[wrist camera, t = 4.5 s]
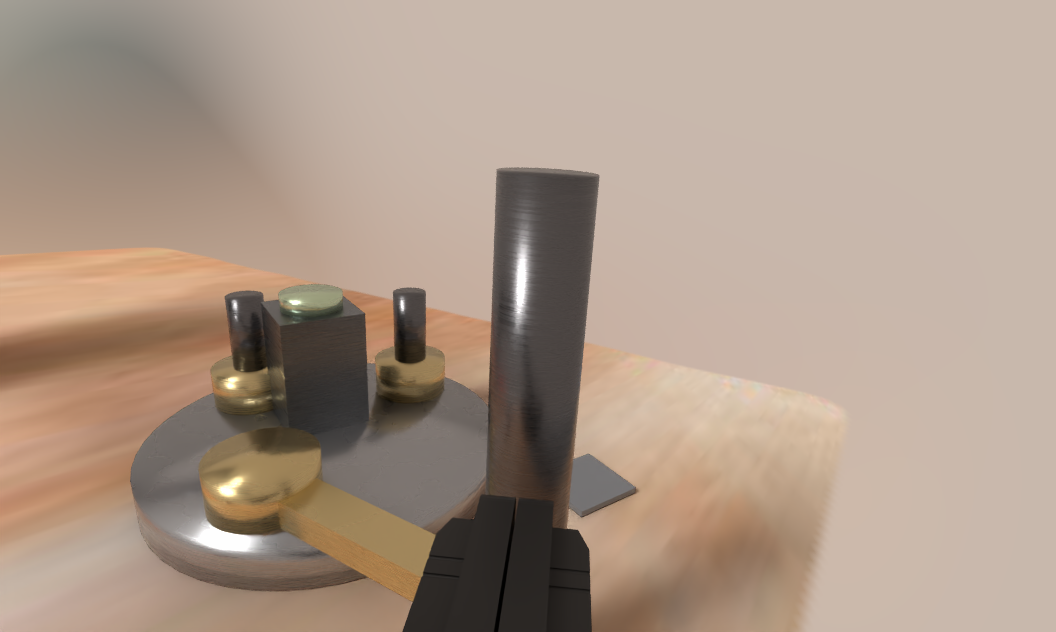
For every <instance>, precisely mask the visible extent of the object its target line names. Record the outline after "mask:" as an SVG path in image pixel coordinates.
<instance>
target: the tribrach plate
mask: <svg viewBox="0 0 1056 632" xmlns="http://www.w3.org/2000/svg"><path fill="white" fill-rule="evenodd" d="M278 296H279V300H274V301H266V302H264V300H263V293H261V292H258V291H239V292H233V293H230V294H227V295H226V296H225V302H226V310H227V318H228V326H229V334H230V342H231V351H232V356H230V357H227V358H224V359H222V360H220V361H218V362H217V363H215V364H214V365H213V366H212V368H211V378H212V385H213V393H212V394H210V395H207V396H205V397H203V398H201V399H199V400H197V401H195V402H194V403H192V404H190V405H188V406H187V407H185V408H183V409H181V410H180V411H179V412H177V413H176V414H174V415H173V416H171V417H170V418H168V419H167V420H166V421H165V422H164V423H162V424H161V425H160V426H159V427H158V428H157V429H155V430H154V431H153V433H152V434H151V435H150V436H149V437H148V438H147V439H146V440H145V441H144V443H143V444H142V446H141V448H140V449H139V451H138V452H137V454H136V456H135V459H134V462H133V465H132V467H131V479H130V482H131V487H132V492H133V497H134V502H135V507H136V512H137V517H138V522H139V526H140V530H141V534H142V536H143V538H144V539H145V541H146V543H147V545H148V546H149V548H150V549H151V550H152V551H153V552H154V553H155V554H156V555H157V556H158V557H159V558H160V559H161V560H162V561H163V562H165V563H166V564H168V565H169V566H171V567H173V568H174V569H176V570H177V571H179V572H181V573H184V574H186V575H188V576H191V577H193V578H196V579H198V580H201V581H205V582H208V583H212V584H216V585H220V586H224V587H231V588H239V589H247V590H267V591H286V590H299V589H312V588H318V587H324V586H330V585H336V584H342V583H346V582H350V581H354V580H357V579H361V578H365V577H367V576H365V575H363V574H362V573H360V572H358V571H356V570H354V569H353V568H351V567H349V566H347V565H345V564H344V563H342V562H340V561H338V560H336V559H335V558H333V557H331V556H329V555H327V554H326V553H324V552H322V551H320V550H319V549H317V548H315V547H313V546H311V545H310V544H308V543H306V542H304V541H302V540H301V539H299V538H297V537H295V536H293V535H292V534H290V533H288V532H286V531H284V530H283V529H281V528H280V529H277V530H274V531H270V532H266V533H259V534H250V535H240V534H231V533H226V532H223V531H220V530H218V529H216V528H215V527H213V526H212V525H211V524H210V523H209V522H208V520H207V518H206V515H205V509H204V502H203V496H202V489H201V483H200V476H199V470H198V468H199V463H200V461H201V459H202V457H203V456H204V455H205V454H206V453H207V452H208V451H209V450H210V449H211V448H212V447H214V446H215V445H217V444H218V443H220V442H222V441H224V440H226V439H228V438H230V437H233V436H235V435H238V434H241V433H244V432H248V431H252V430H257V429H263V428H273V427H286V428H295V429H300V430H303V431H306V432H308V433H310V434H312V435H313V436H315V437H316V438H317V439H318V441H319V443H320V446H321V460H322V473H323V481H324V482H326V483H328V484H330V485H332V486H334V487H336V488H338V489H340V490H343V491H345V492H347V493H349V494H351V495H353V496H355V497H357V498H359V499H361V500H364V501H366V502H368V503H370V504H372V505H374V506H376V507H378V508H380V509H382V510H385V511H387V512H389V513H391V514H393V515H395V516H397V517H399V518H401V519H403V520H406V521H408V522H410V523H412V524H414V525H416V526H418V527H420V528H422V529H424V530H427V531H429V532H431V533H433V534H435V535H436V534H437V533H438V532H439V531H440V530H441V529H442V528H443V526H444V525H445V524H446V523H447V522H448V521H449V520H450V519H451V518H452V517H453V518H463V519H471V518H472V517H473V516H474V515H475V514H476V511H477V507H478V503H479V499H480V496H481V494H485V489H486V460H487V432H488V406H487V405H486V403H485V402H484V401H483V400H482V399H481V398H480V397H479V396H477V395H476V394H475V393H474V392H472V391H471V390H469V389H468V388H466V387H465V386H463V385H461V384H459V383H457V382H455V381H453V380H451V379H448V378H446V377H444V375H445V356H444V354H443V353H442V352H441V351H440V350H438V349H436V348H433V347H430V346H426V305H425V304H426V293H425V291H424V290H422V289H419V288H401V289H397V290H395V291H394V292H393V309H394V347H390V348H387V349H385V350H383V351H381V352H379V353H378V354H377V355H376V357H375V364H368V363H367V352H366V327H365V313H364V312H362V311H361V310H360V309H359V308H357V307H356V306H355V305H354V304H352V303H351V302H350V301H349V300H347V299H346V298H345V297H344V296H343V292H342V290H341V289H340V288H338V287H335V286H330V285H320V284H311V285H300V286H294V287H289V288H286V289H284V290H282V291H280V292H279V294H278Z"/></svg>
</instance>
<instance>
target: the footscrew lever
mask: <svg viewBox="0 0 1056 632" xmlns="http://www.w3.org/2000/svg"><path fill="white" fill-rule="evenodd" d="M598 184H599V175H598V174H594V173H588V172H581V171H572V170H561V169H546V168H500V169H497V177H496V205H495V233H494V235H495V236H494V262H493V290H492V318H491V347H490V375H489V403H488V432H487V460H486V489H485V495H496V496H506V497H516V513H517V506H518V500H519V498H528V499H538V500H548V501H554V507H553V524H552V527H553V528H563V529H567V522H568V511H569V500H570V490H571V479H572V468H573V457H574V446H575V435H576V424H577V414H578V403H579V392H580V381H581V370H582V359H583V349H584V338H585V326H586V316H587V305H588V294H589V283H590V272H591V262H592V250H593V240H594V229H595V217H596V207H597V197H598V196H597V195H598V186H599V185H598ZM198 470H199V476H200V483H201V489H202V496H203V502H204V509H205V515H206V518H207V520H208V522H209V523H210V524H211V525H212V526H213V527H215V528H216V529H218V530H220V531H223V532H226V533H231V534H240V535H250V534H259V533H266V532H270V531H274V530H277V529H280V528H281V529H283V530H284V531H286V532H288V533H290V534H292V535H293V536H295V537H297V538H299V539H301V540H302V541H304V542H306V543H308V544H310V545H311V546H313V547H315V548H317V549H319V550H320V551H322V552H324V553H326V554H327V555H329V556H331V557H333V558H335V559H336V560H338V561H340V562H342V563H344V564H345V565H347V566H349V567H351V568H353V569H354V570H356V571H358V572H360V573H362V574H363V575H365V576H367V577H369V578H371V579H372V580H374V581H376V582H378V583H380V584H381V585H383V586H385V587H387V588H389V589H390V590H392V591H394V592H396V593H398V594H399V595H401V596H403V597H405V598H406V599H408V600H410V601H412V602H413V600H414V597H415V594H416V591H417V588H418V585H419V582H420V579H421V577H422V576H423V571H424V568H425V565H426V562H427V559H428V558H429V553H430V550H431V547H432V544H433V542H434V539H435V536H436V535H435V534H433V533H431V532H429V531H427V530H424V529H422V528H420V527H418V526H416V525H414V524H412V523H410V522H408V521H406V520H403V519H401V518H399V517H397V516H395V515H393V514H391V513H389V512H387V511H385V510H382V509H380V508H378V507H376V506H374V505H372V504H370V503H368V502H366V501H364V500H361V499H359V498H357V497H355V496H353V495H351V494H349V493H347V492H345V491H343V490H340V489H338V488H336V487H334V486H332V485H330V484H328V483H326V482H324V481H323V473H322V460H321V446H320V443H319V441H318V439H317V438H316V437H315V436H313V435H312V434H310V433H308V432H306V431H303V430H300V429H295V428H286V427H273V428H263V429H257V430H252V431H248V432H244V433H241V434H238V435H235V436H233V437H230V438H228V439H226V440H224V441H222V442H220V443H218V444H217V445H215V446H214V447H212V448H211V449H210V450H209V451H208V452H207V453H206V454H205V455H204V456H203V457H202V459H201V461H200V463H199V468H198ZM515 519H516V517H515Z"/></svg>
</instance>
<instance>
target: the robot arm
mask: <svg viewBox="0 0 1056 632" xmlns="http://www.w3.org/2000/svg"><path fill="white" fill-rule="evenodd" d="M553 507H554V501H548V500H538V499H528V498H519V500H518V506H517V513H516V497H506V496H496V495H485V494H481V496H480V499H479V503H478V507H477V511H476V515H475V518H474V520H472V519H463V518H453V517H452V518H451V519H450V520H449V521H448V522H447V523H446V524H445V525H444V526H443V528H442V529H441V530H440V531H439V532H438V533H437V534H436V536H435V539H434V542H433V544H432V547H431V550H430V553H429V558H428V559H427V562H426V565H425V568H424V571H423V576H422V577H421V579H420V582H419V585H418V588H417V591H416V594H415V597H414V600H413V603H412V606H411V609H410V611H409V614H408V617H407V620H406V623H405V626H404V629H403V632H592V626H591V594H590V561H589V548H588V547H587V545H586V543H585V541H584V540H583V538H582V536H581V534H580V533H579V531H578V530H573V529H563V528H553V527H552V524H553ZM515 517H516V519H515Z"/></svg>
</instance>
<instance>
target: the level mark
mask: <svg viewBox="0 0 1056 632" xmlns="http://www.w3.org/2000/svg"><path fill="white" fill-rule="evenodd" d="M635 491H636V487H634V486H633V485H632V484H630V483H629V482H628V481H626V480H625V479H623V478H622V477H621V476H619V475H618V474H616V473H615V472H614V471H612V470H611V469H610V468H608V467H607V466H605V465H604V464H603V463H601V462H600V461H598V460H597V459H596V458H594V457H593V456H592V455H590V454H586V455H584V456H581V457H578V458H576V459H573V468H572V479H571V490H570V500H569V507H570V508H571V509H572V510H574V511H575V512H576V513H577V514H578V515H579V516H581V517H582V516H585V515H587V514H589V513H591V512H593V511H596V510H598V509H600V508H602V507H604V506H607V505H609V504H611V503H613V502H616V501H618V500H620V499H622V498H624V497H627V496H629V495H631V494H633V493H635Z"/></svg>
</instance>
